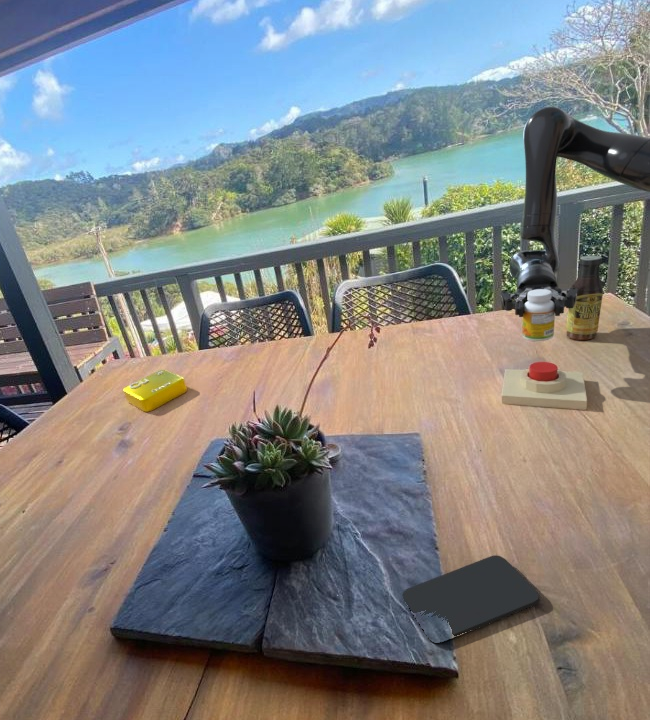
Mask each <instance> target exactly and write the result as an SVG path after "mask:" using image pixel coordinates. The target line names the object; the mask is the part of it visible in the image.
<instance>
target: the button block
mask: <svg viewBox="0 0 650 720" xmlns="http://www.w3.org/2000/svg"><path fill="white" fill-rule="evenodd" d="M502 384H503V385H502V390H501V404H502V405H516V406H528V407H529V406H530V407H540V408H541V407H542V408H555V409H566V410H567V409H569V410H581V411H582V410H583V411H587V409H588V397H587V392H586V391H587V390H586V382H585V377H584V372H583V371H566V370H565V371H563V370H561V369H559V368H558V371H557V379H556V380H554V381H548V382H544V381H536V380H533V379H531V378H529V367H527V368H526V369H515V368H514V369H511V368H509V369H508V368H505V369H504V375H503V383H502Z"/></svg>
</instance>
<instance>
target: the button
mask: <svg viewBox="0 0 650 720" xmlns="http://www.w3.org/2000/svg"><path fill="white" fill-rule="evenodd" d="M528 368H529V378H531V379H533V380H536V381H544V382H548V381H554V380H556V379H557V371H558V369H559V367H558V365H556V364H555V363H552V362H550V361H549V362H548V361H537V362H533V363H530V365H529V367H528Z"/></svg>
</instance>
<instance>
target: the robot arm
mask: <svg viewBox="0 0 650 720" xmlns="http://www.w3.org/2000/svg"><path fill="white" fill-rule="evenodd" d="M522 133H523V134H522V136H523V137H522V138H523V148H524V159H525V160H524V161H525V163H524V164H525V189H524V199H523V200H524V201H523V212H522V220H521V221H522V222H521V233H520V236H521V239H522V240H524V241H527V242H528V241H529V242H536V243H540V244H541V245H542V246H543V249H534V250H532V249H531V250H529V249H528V250H520V251H518V252H516V253H515V254H514V255H512V257H511V259H510V261H509V270H510V274H511V275H512V278H513V279H514V280H515V281H516V290H515V292H514V293H511V292H508V291H506V290H504V291H501V292H500V304H501V306H502V307H503V309H504V310H505V311H506V312H510V311H512V310H514V315H515V316H518V318H523V305H524V304H525V303H526V302H527V301H528V300H527V294H528V292H529V291H532V290H536V289H547V290H550V291H551V292H552V293H551V296H552V297H551V299H550V300H551V301H553V302H554V304H555V317H560V316H561V314H564V313H565V309H569V308H573V307H574V305H575V302H576V299H577V287H572V286H571V287H570V288H569V289H566V290H562V288H561V287H559V286H558V285H559V284H558V281H557V277H556V275H557V273H558V272H559V270H560V265H561V261H560V256H559V252H558V249H557V242H556V222H557V214H558V213H557V212H558V191H557V177H556V173H557V160H558V158H561V159H565V160H568V161H573V162H576V163H579V164H582V165H583V166H585V167H587V168H589V169H590V170H593V172H596V173H598V174H600V175H602V176H604V177H606V178H608V179H611V180H612V181H615V182H617V183H620V184H623V185H626V186H628V187H631V188H634V189H636V190H640V191H643V192H648V193H650V137H647V136H642V135H637V134H633V133H632V134H631V133H626V132H625V133H624V132H614V131H607V130H602V129H599V128H596V127H594V126H591V125H589V124H588V123H587V124H586V123H585V122H582V121H580V120H578V119H576V118H575V117H573V116H571V115H570V114H569V113H568V112H567V111H565V110H563V109H561V108H560V107H558V106H557V107H556V106H546V107H542V108H540V109H538V110H537V111H535V112H534V113H533V114H532V115H531V116H530V117H529V118H528V120H527V121H526V123H525V125H524V128H523V132H522Z"/></svg>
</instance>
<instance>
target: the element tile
mask: <svg viewBox="0 0 650 720" xmlns="http://www.w3.org/2000/svg"><path fill="white" fill-rule="evenodd" d="M122 389H123V393H124V396H125V399H126V401H127V403H129V404H131V405H132V406H134V407H135V408H138V409H139V410H140V411H142V412H145V413H149V412H152V411H154V410H156V409H158V408H160V407H161V406H163V405H165V404H167V403H169V402H171V401H173V400H174V399H176V398H178V397H180V396H182V395H184V394H185V393H186V392H188V387H187V384H186V381H185V378H184V377H183V376H181V375H179V374H176V373H173V372H171V371H168V370H166V369H159V370H157V371H155V372H153V373H151V374H150V375H147V376H145V377H143V378H141V379H139V380H137V381H135V382H133V383H130V384H129V385H127V386H125V387H124V388H122Z"/></svg>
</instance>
